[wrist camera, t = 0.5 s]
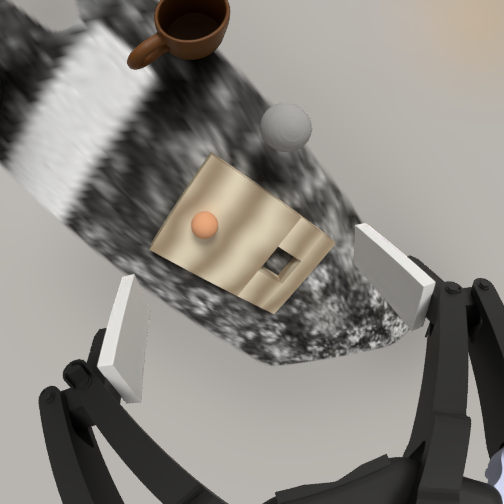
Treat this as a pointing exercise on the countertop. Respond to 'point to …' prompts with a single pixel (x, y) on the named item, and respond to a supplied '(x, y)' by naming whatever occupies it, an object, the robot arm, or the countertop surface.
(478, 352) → the robot arm
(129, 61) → the mug
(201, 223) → the ball
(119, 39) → the countertop surface
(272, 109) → the light bulb
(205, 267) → the wooden board with hole
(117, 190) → the countertop surface
